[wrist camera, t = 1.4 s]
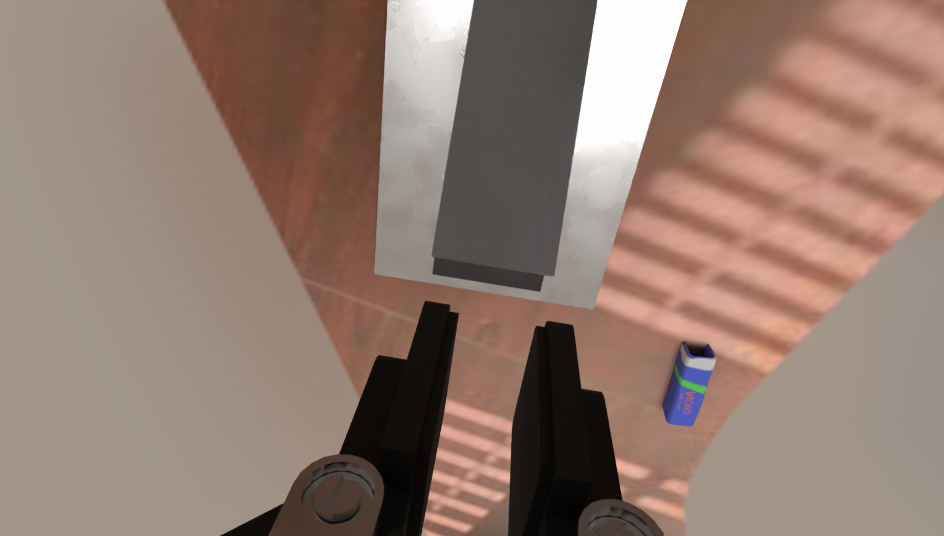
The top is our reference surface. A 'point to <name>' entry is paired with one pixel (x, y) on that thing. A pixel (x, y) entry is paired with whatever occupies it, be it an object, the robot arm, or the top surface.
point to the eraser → (688, 386)
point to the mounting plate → (594, 161)
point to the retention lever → (515, 133)
